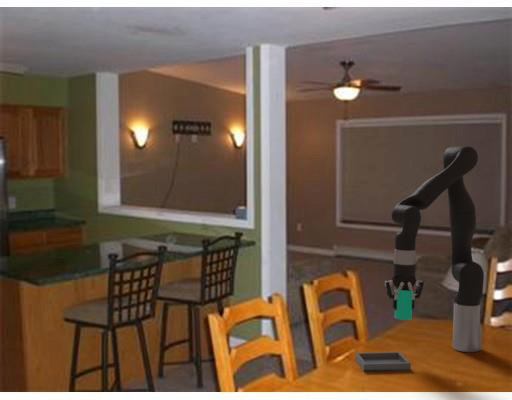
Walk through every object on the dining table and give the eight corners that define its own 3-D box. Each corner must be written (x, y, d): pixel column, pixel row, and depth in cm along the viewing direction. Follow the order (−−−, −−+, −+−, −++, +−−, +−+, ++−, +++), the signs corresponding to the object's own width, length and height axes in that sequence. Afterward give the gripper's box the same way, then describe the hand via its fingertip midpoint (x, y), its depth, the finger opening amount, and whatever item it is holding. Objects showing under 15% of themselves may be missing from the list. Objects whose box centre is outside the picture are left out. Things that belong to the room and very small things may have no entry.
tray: (399, 358, 221) (399, 351, 221) (410, 370, 209) (410, 363, 209) (355, 359, 220) (355, 352, 220) (363, 371, 208) (363, 364, 208)
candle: (410, 315, 223) (411, 282, 222) (412, 320, 217) (413, 286, 216) (393, 315, 224) (394, 282, 223) (395, 319, 218) (396, 285, 217)
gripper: (420, 260, 223) (419, 307, 224) (381, 260, 222) (380, 307, 223) (428, 263, 215) (426, 312, 217) (387, 264, 214) (386, 312, 216)
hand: (403, 309), depth 220 cm, fingers closed on candle, 4 cm apart
